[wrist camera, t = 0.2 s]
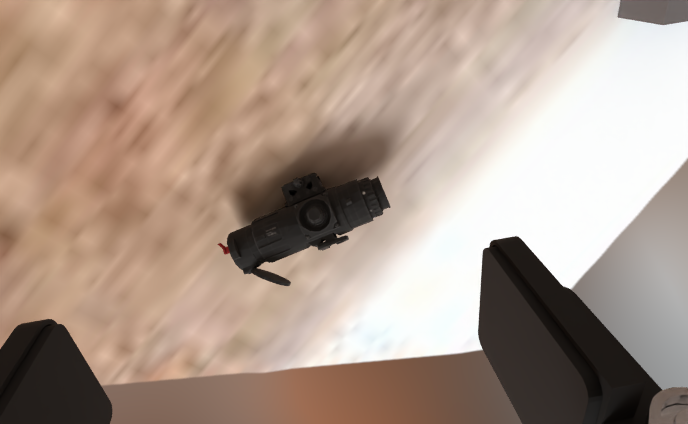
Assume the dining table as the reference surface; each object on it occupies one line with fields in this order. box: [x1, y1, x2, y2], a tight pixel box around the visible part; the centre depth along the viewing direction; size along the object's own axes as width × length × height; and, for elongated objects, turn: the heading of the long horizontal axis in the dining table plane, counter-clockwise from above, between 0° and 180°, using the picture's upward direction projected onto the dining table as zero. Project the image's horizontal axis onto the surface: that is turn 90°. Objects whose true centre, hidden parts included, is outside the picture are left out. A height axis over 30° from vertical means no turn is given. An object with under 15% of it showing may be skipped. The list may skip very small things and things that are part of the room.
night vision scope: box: [218, 173, 391, 286], centre depth 47 cm, size 8×18×10 cm
